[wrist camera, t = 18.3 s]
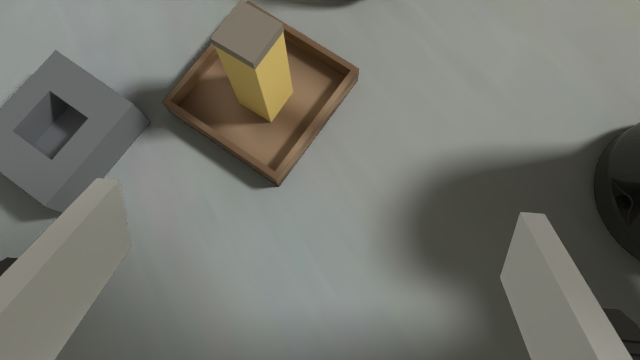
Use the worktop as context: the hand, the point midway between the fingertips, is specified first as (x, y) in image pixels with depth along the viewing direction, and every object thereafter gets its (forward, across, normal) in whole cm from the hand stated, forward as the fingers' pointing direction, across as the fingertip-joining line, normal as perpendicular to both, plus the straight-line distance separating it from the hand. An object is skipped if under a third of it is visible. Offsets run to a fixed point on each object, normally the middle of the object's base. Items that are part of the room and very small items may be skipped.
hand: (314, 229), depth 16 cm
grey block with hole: (+29, -26, -13) cm, 41 cm away
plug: (+33, -7, -8) cm, 35 cm away
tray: (+34, -8, -8) cm, 36 cm away
